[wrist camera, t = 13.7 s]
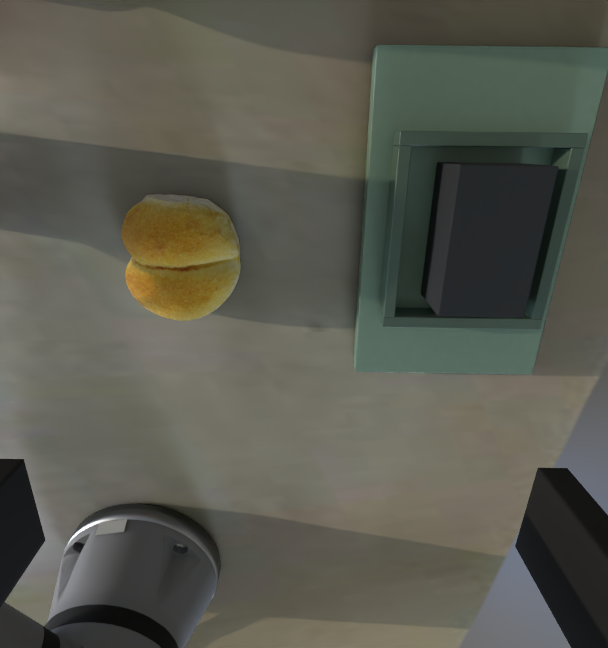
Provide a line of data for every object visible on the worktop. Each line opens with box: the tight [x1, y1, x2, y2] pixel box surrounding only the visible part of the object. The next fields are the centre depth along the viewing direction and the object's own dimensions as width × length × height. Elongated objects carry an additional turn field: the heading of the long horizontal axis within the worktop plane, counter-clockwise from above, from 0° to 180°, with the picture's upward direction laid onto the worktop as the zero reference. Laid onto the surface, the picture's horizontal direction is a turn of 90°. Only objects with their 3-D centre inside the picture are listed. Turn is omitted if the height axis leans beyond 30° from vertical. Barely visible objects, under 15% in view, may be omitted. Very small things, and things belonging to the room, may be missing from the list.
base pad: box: [353, 45, 608, 374], centre depth 29 cm, size 22×14×4 cm, turn 179°
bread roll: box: [122, 194, 241, 321], centre depth 30 cm, size 8×9×4 cm
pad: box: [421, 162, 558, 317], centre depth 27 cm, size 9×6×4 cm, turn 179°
